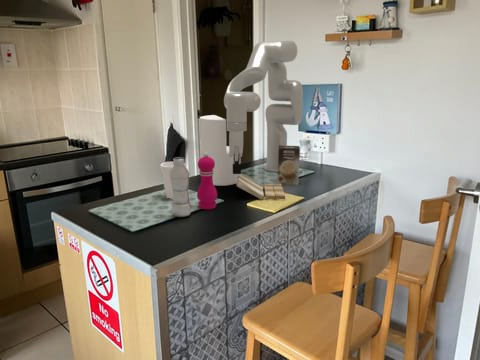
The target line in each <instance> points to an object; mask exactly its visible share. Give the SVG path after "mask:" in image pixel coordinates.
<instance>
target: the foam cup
mask: <svg viewBox="0 0 480 360" xmlns="http://www.w3.org/2000/svg"><path fill="white" fill-rule="evenodd" d="M173 166H174V164H173V161H165V162H162V163H160V166H159V167H160V168H159V169H160V173H161V178H162V182H163V187H164V193H165V197H166V198H167V199H168V198H170V199H169V200H172V197H173V193H172V185H171V180H170V171H171V169H172V168H173ZM184 166H185V167H186V163H185V164H184Z"/></svg>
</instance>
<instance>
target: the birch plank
mask: <svg viewBox="0 0 480 360" xmlns="http://www.w3.org/2000/svg"><path fill="white" fill-rule="evenodd" d="M236 187H238V188H239V189H241V190H243V191H245V192H247V193H249V194H250V195H252V196H255V198H258V199H260V200H261V201H262V200H263V199H264V197H265V192H264V185H263V184H262V183H261V182H258V181H257V180H255V179H253V178H252V177H249V176H247V175H246V174H244V173H242V172H241V174H238V175H237V183H236Z"/></svg>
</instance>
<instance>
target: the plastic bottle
mask: <svg viewBox="0 0 480 360" xmlns="http://www.w3.org/2000/svg"><path fill="white" fill-rule="evenodd" d="M172 160H173V161H172V162H173V164H174V166H173V168H172V169H171V171H170V180H171V185H172V193H173V197H172V199H171V201H172V202H171V213H172V214H173V216H174V217H177V218H184V217H188V216H190V215H191V212H192V206H191V205H192V204H191V202H190V201H191V200H190V195H189V185H190V184H189V183H190V171H189V170H188V168H187V167H186V161H185V157H183V156H178V157H176V156H175V157H173V159H172ZM184 164H185V166H184Z"/></svg>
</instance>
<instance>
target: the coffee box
mask: <svg viewBox="0 0 480 360" xmlns="http://www.w3.org/2000/svg"><path fill="white" fill-rule="evenodd" d="M300 154H301V147H300V145H287V146H283V145H279V148H278V172H276V173H277V177H276V184H282V185H283V186H284V185H285V186H299V177H300V173H299V172H300V157H301V156H300Z"/></svg>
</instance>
